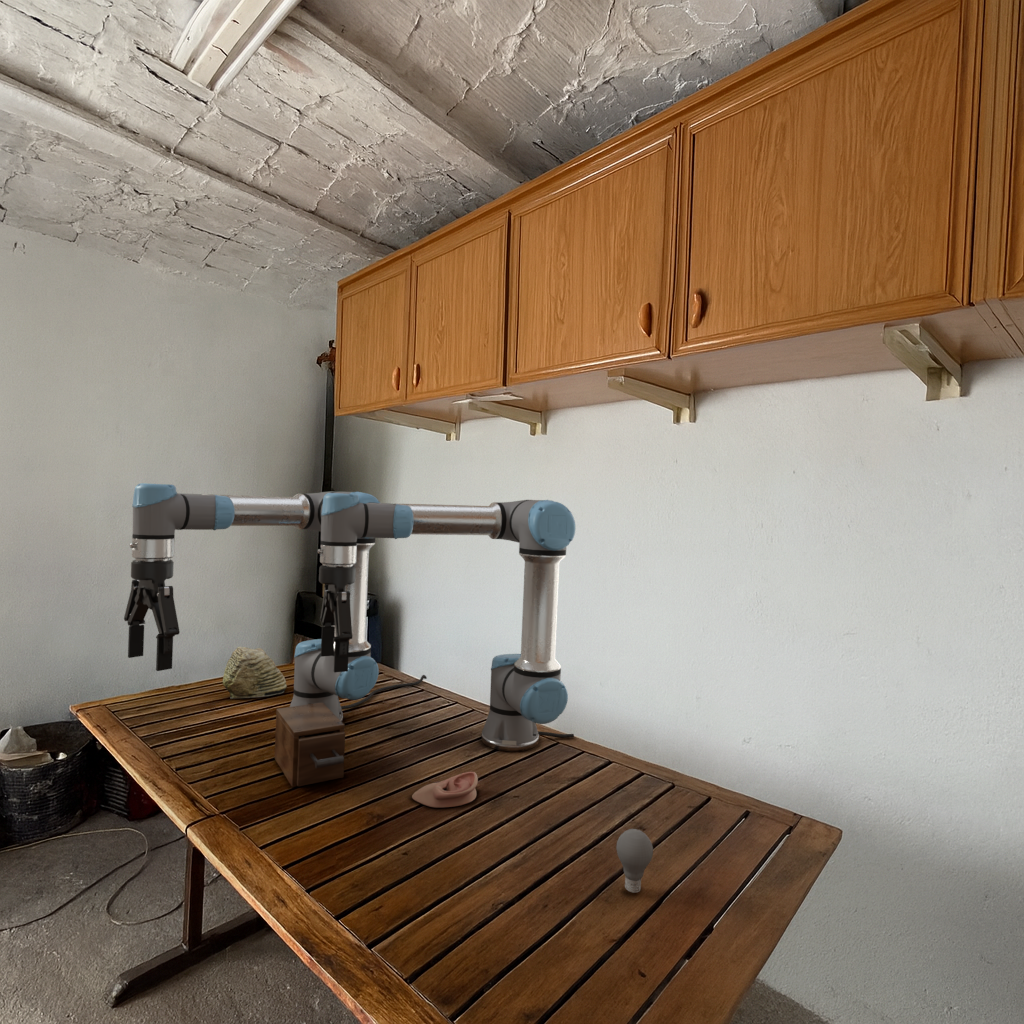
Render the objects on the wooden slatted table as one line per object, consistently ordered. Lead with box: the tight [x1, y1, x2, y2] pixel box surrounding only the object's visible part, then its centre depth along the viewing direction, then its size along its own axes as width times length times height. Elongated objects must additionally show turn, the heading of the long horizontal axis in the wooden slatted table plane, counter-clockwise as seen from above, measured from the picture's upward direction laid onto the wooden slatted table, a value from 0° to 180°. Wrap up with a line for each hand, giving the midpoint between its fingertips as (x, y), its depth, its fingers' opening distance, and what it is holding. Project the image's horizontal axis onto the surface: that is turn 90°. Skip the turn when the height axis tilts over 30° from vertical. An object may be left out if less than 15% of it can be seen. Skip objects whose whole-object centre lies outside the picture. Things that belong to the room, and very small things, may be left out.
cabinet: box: [274, 703, 345, 788], centre depth 148 cm, size 17×11×12 cm, turn 33°
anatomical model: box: [411, 771, 479, 809], centre depth 136 cm, size 13×4×12 cm
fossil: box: [222, 646, 288, 699], centre depth 198 cm, size 9×18×15 cm, turn 132°
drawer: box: [296, 731, 346, 788], centre depth 142 cm, size 22×10×10 cm, turn 33°
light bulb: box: [615, 828, 654, 894], centre depth 106 cm, size 6×6×10 cm
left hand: (149, 663), depth 129 cm, fingers open, 13 cm apart
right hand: (333, 663), depth 136 cm, fingers open, 13 cm apart
